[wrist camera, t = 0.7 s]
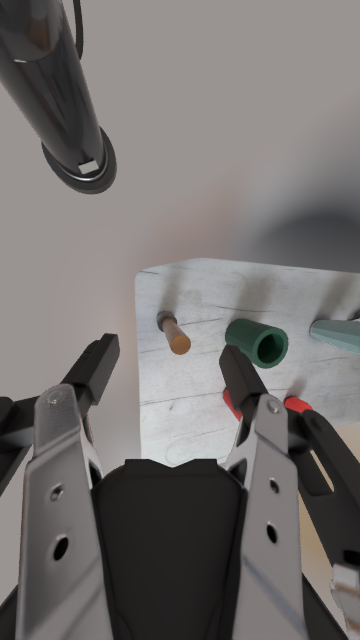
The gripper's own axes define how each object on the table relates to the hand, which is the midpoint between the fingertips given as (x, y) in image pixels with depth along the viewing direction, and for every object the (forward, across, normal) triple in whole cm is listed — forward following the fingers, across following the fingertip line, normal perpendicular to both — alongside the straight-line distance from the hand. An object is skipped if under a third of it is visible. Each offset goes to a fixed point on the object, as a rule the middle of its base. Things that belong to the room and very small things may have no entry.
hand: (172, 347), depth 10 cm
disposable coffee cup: (+29, -53, +15) cm, 62 cm away
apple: (+17, -50, +42) cm, 67 cm away
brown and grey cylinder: (+22, +1, +12) cm, 25 cm away
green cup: (+24, -22, +16) cm, 36 cm away
